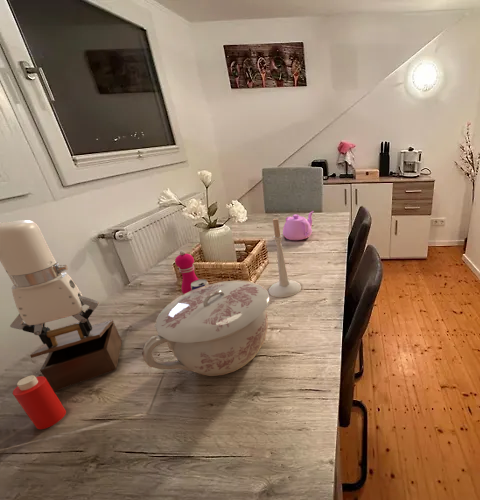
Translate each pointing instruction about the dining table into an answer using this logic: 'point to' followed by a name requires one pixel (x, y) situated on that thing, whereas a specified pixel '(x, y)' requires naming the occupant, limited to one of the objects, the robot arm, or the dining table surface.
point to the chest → (83, 360)
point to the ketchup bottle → (39, 401)
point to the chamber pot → (212, 328)
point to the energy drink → (198, 284)
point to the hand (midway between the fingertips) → (70, 338)
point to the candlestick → (282, 270)
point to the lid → (70, 337)
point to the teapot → (298, 227)
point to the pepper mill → (186, 270)
